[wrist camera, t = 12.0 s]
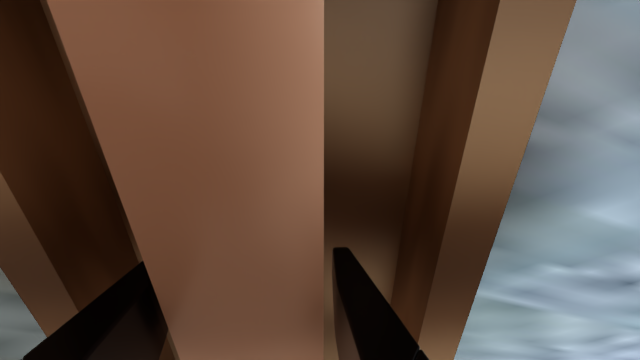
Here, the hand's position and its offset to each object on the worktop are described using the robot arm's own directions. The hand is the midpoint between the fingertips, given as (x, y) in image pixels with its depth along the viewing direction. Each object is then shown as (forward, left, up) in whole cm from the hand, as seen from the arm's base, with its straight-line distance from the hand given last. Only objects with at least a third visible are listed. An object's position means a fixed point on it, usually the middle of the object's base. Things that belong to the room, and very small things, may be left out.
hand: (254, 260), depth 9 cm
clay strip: (0, 0, -2) cm, 2 cm away
